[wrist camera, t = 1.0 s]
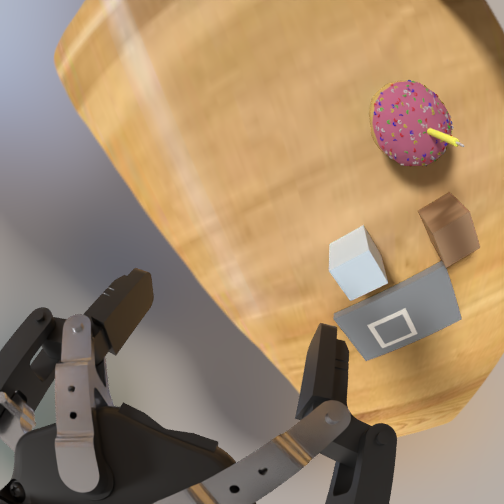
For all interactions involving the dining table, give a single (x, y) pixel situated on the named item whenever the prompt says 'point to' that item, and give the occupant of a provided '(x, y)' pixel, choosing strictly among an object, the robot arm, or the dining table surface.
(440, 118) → the cupcake
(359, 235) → the greyblue block
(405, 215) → the dining table surface
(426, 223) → the walnut block
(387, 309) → the grey flat plate
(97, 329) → the robot arm
